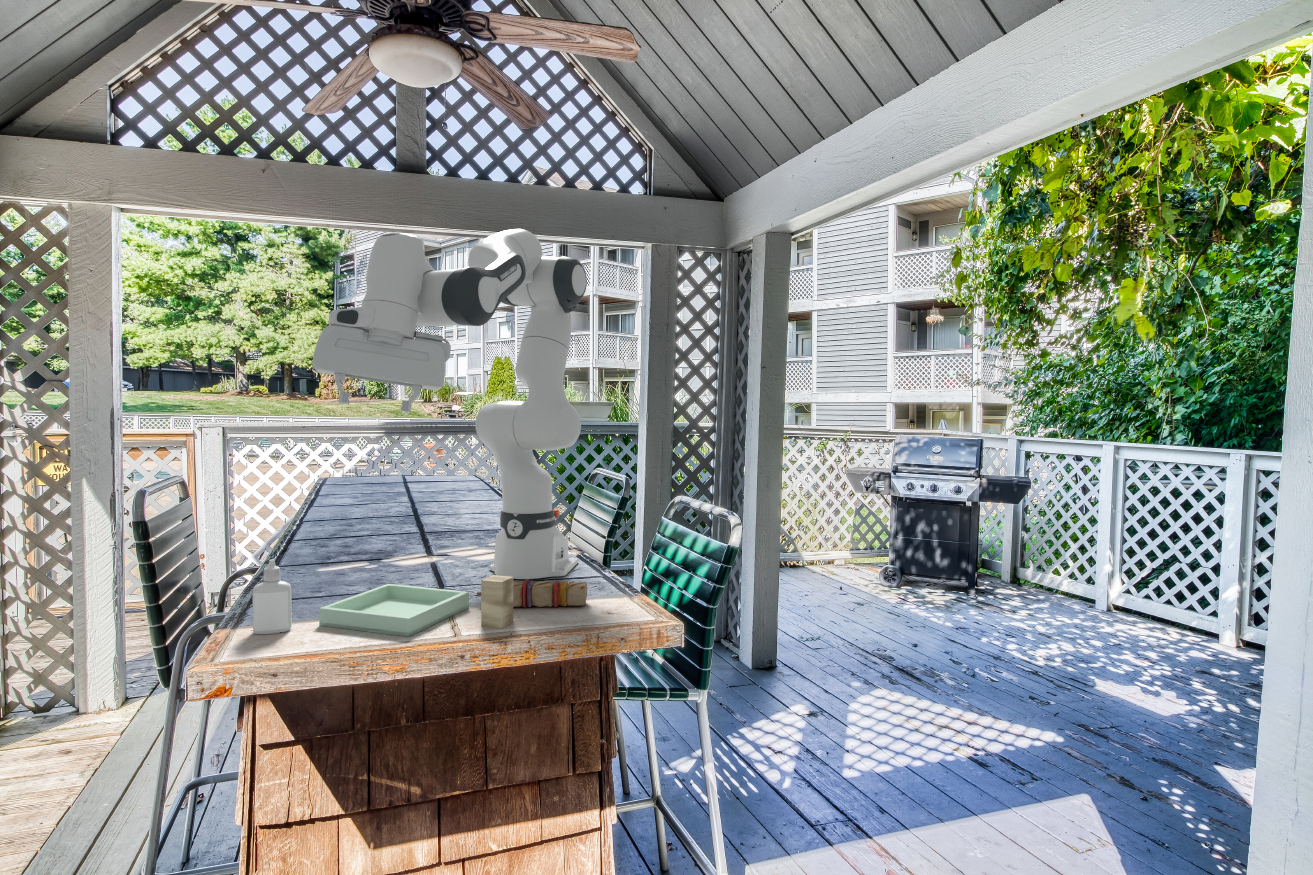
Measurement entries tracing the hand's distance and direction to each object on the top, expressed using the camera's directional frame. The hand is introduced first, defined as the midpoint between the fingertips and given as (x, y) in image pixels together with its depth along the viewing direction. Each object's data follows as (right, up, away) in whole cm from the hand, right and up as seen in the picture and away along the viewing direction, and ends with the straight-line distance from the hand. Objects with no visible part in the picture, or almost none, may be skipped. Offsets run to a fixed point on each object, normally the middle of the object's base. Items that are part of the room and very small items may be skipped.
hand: (375, 408), depth 117 cm
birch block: (+18, -37, +9) cm, 42 cm away
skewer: (+22, -37, +21) cm, 48 cm away
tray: (-1, -37, +12) cm, 39 cm away
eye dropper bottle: (-18, -37, +3) cm, 42 cm away
